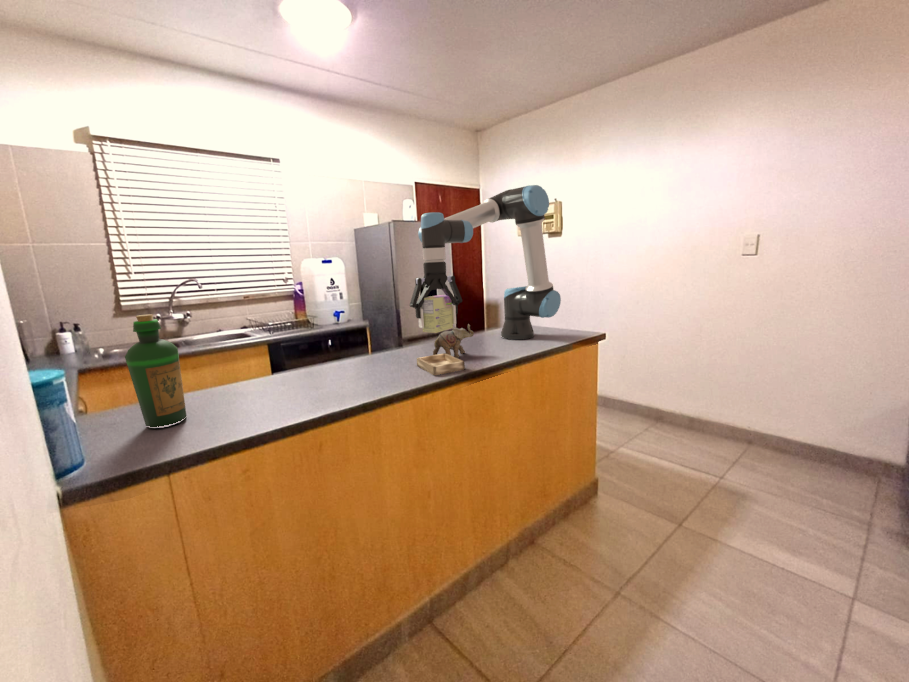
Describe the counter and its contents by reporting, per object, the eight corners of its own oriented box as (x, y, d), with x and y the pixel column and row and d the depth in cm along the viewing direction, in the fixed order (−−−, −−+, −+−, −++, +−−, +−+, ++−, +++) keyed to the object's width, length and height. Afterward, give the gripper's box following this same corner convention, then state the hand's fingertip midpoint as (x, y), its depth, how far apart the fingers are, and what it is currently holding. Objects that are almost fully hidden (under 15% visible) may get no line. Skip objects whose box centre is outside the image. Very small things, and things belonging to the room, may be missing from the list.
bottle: (183, 428, 98) (160, 316, 92) (133, 435, 95) (106, 320, 89) (197, 412, 108) (177, 310, 102) (152, 418, 105) (128, 314, 99)
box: (440, 327, 143) (438, 294, 141) (453, 328, 140) (452, 294, 137) (422, 332, 135) (419, 297, 132) (435, 333, 132) (433, 298, 129)
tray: (445, 360, 149) (445, 353, 149) (464, 369, 137) (464, 361, 136) (417, 366, 144) (416, 358, 143) (434, 375, 131) (433, 367, 131)
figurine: (467, 367, 152) (475, 330, 147) (430, 360, 152) (437, 323, 147) (467, 359, 161) (475, 324, 157) (433, 352, 161) (439, 317, 156)
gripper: (460, 259, 141) (462, 320, 146) (396, 263, 130) (401, 328, 135) (471, 259, 135) (473, 322, 139) (405, 263, 124) (409, 331, 128)
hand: (437, 325), depth 137 cm, fingers closed on box, 11 cm apart
